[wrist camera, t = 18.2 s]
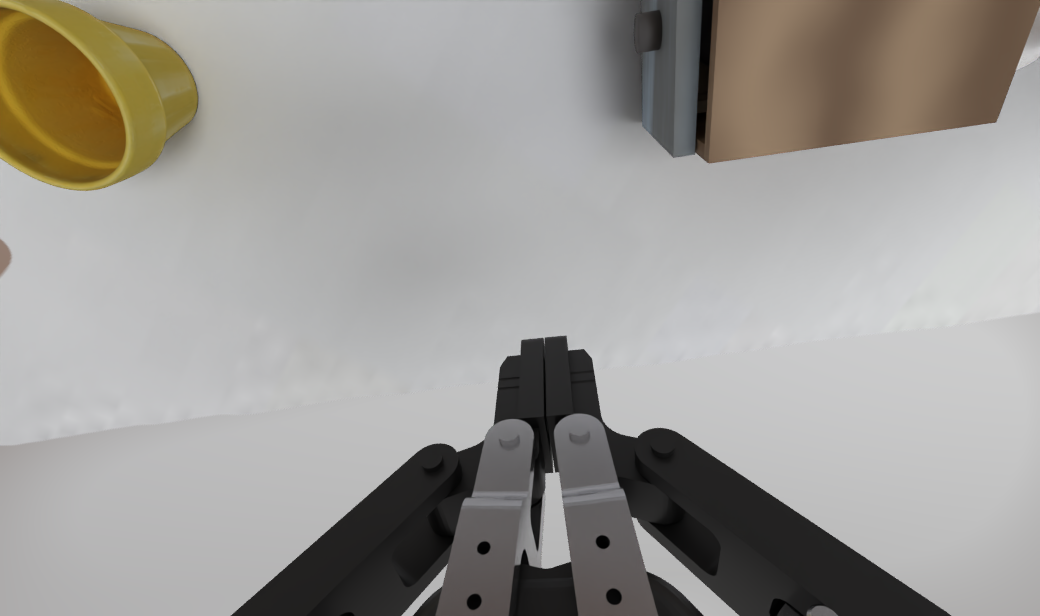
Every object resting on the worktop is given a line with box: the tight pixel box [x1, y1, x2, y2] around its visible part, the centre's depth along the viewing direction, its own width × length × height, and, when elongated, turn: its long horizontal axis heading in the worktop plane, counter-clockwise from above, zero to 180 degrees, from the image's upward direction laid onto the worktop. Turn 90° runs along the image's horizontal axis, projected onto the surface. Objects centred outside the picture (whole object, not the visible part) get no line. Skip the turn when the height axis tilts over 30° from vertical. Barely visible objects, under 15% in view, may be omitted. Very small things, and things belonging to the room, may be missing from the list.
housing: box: [695, 0, 1040, 163], centre depth 25 cm, size 14×12×12 cm
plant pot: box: [0, 0, 198, 191], centre depth 30 cm, size 10×10×10 cm
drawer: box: [634, 0, 709, 158], centre depth 26 cm, size 15×12×9 cm
